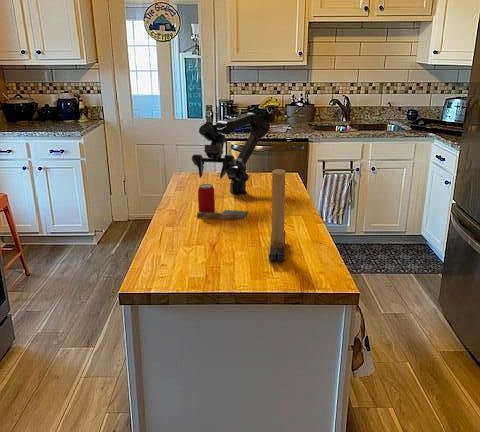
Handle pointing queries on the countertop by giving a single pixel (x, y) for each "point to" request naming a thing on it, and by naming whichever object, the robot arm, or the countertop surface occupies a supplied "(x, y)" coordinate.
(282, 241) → the hammer
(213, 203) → the beverage can
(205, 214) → the rail
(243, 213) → the end pad
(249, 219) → the countertop surface
